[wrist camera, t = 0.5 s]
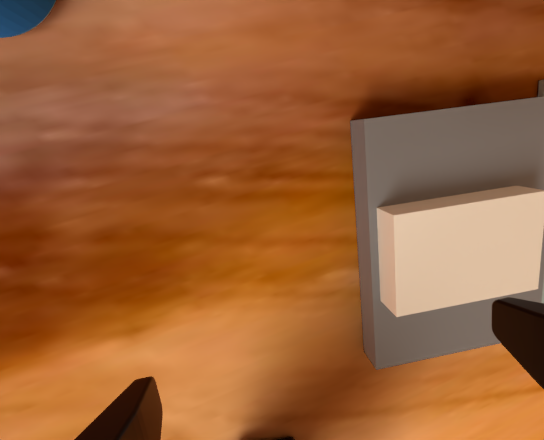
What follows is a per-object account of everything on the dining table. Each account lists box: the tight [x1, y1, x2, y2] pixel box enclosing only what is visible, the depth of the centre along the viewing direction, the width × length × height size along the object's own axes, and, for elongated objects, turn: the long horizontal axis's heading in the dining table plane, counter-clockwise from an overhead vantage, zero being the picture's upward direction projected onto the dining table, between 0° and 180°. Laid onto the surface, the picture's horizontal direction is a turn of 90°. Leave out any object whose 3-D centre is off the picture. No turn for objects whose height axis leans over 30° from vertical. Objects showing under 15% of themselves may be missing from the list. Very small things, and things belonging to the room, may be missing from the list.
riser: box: [350, 96, 544, 370], centre depth 22 cm, size 16×12×2 cm
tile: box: [377, 186, 544, 317], centre depth 20 cm, size 9×6×2 cm, turn 97°
